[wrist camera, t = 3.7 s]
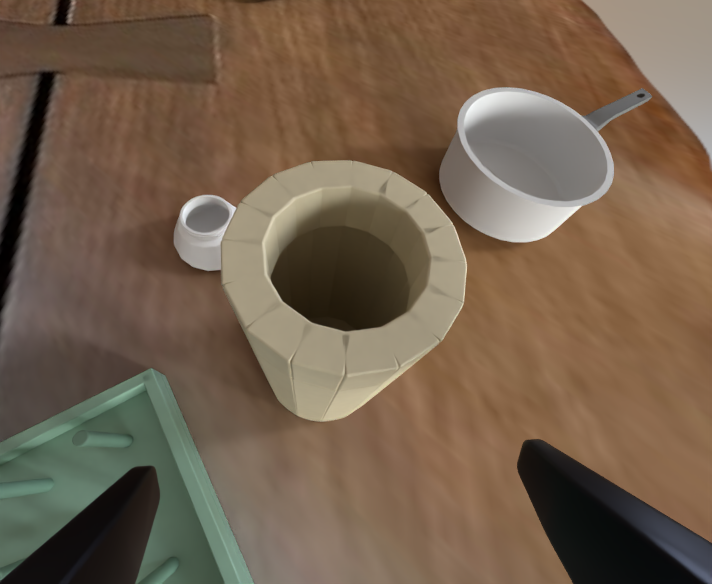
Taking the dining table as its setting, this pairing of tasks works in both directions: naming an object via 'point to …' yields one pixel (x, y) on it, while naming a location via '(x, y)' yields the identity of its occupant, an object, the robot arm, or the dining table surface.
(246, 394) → the dining table surface
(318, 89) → the dining table surface
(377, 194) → the beige cylindrical vase
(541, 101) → the saucepan
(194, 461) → the dish rack
